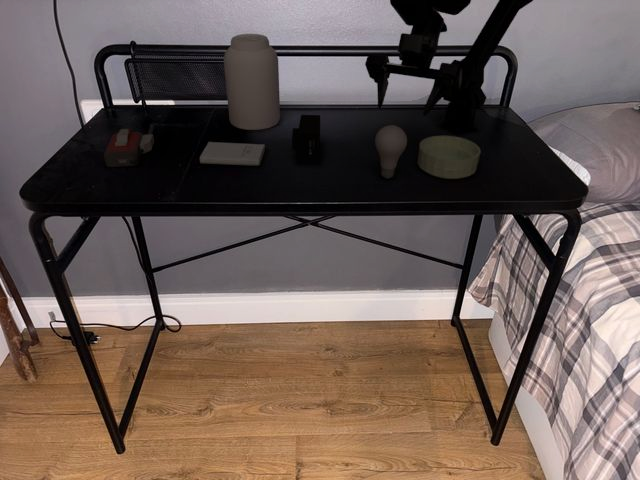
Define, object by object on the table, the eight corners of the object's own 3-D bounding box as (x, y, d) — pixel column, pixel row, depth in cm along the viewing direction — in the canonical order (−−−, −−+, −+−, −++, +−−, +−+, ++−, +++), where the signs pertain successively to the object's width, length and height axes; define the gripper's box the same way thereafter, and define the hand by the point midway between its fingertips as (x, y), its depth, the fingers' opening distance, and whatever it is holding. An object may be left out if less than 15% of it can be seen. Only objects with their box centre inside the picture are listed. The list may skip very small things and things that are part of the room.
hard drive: (209, 148, 112) (265, 150, 111) (200, 164, 105) (259, 166, 104) (208, 141, 111) (264, 143, 110) (199, 157, 104) (258, 159, 103)
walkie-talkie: (148, 168, 103) (158, 130, 119) (144, 148, 101) (155, 112, 117) (103, 170, 102) (120, 131, 118) (98, 150, 99) (115, 113, 115)
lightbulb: (382, 188, 98) (388, 135, 91) (366, 174, 102) (370, 123, 96) (408, 181, 100) (415, 129, 94) (391, 168, 104) (396, 118, 98)
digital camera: (296, 143, 114) (295, 113, 110) (320, 144, 114) (320, 114, 110) (292, 163, 106) (291, 132, 102) (318, 164, 105) (318, 133, 101)
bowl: (451, 150, 112) (454, 131, 109) (488, 173, 103) (493, 153, 101) (405, 160, 108) (408, 141, 105) (440, 185, 99) (444, 165, 96)
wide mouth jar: (290, 119, 126) (288, 35, 115) (259, 135, 117) (254, 46, 106) (251, 108, 131) (245, 27, 120) (218, 124, 123) (209, 38, 111)
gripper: (371, 9, 96) (347, 83, 94) (470, 19, 90) (446, 98, 88) (381, 43, 106) (359, 110, 104) (470, 54, 100) (449, 126, 98)
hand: (401, 111), depth 98 cm, fingers open, 9 cm apart
